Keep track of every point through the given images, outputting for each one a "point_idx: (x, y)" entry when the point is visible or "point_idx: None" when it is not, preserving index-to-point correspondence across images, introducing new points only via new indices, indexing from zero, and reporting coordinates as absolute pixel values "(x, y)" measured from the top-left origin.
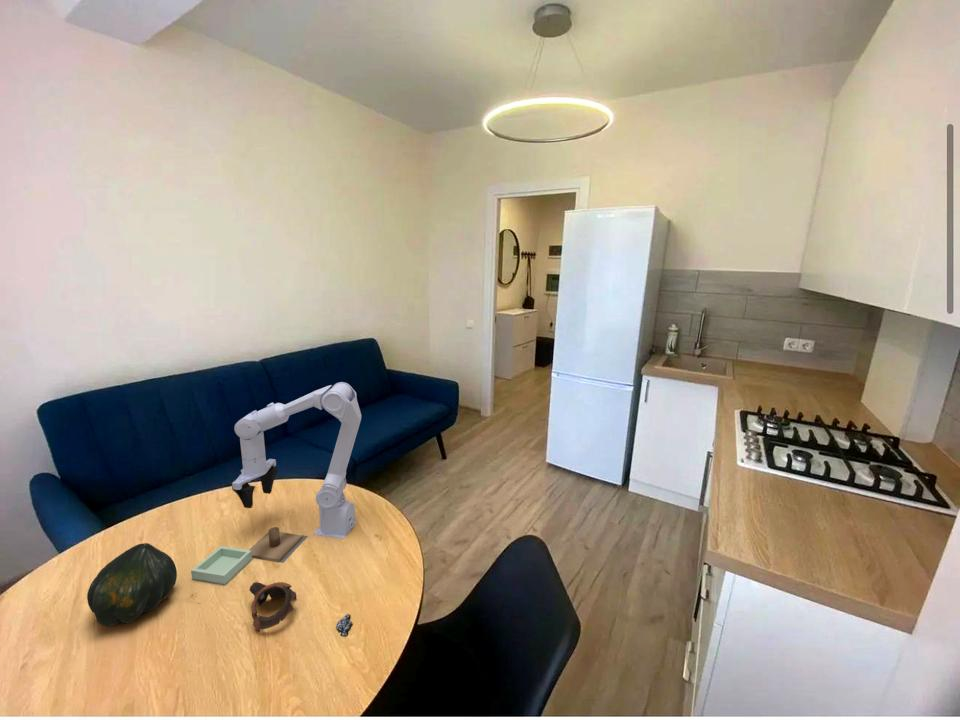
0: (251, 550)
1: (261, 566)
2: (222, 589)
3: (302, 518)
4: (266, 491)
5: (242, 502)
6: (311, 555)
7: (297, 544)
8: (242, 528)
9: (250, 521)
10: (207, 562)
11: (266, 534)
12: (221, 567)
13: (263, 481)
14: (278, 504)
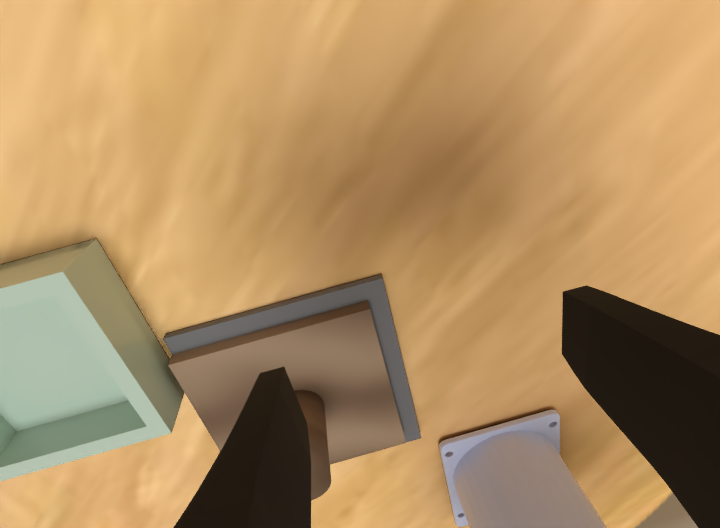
0: (205, 365)
1: (190, 437)
2: None
3: (533, 313)
4: (576, 341)
5: (237, 426)
6: (339, 507)
7: None
8: (330, 87)
9: (413, 60)
10: None
11: (348, 290)
12: (39, 348)
13: (697, 403)
14: (644, 57)
